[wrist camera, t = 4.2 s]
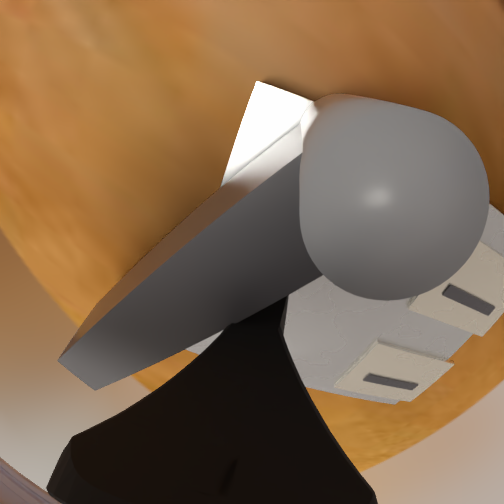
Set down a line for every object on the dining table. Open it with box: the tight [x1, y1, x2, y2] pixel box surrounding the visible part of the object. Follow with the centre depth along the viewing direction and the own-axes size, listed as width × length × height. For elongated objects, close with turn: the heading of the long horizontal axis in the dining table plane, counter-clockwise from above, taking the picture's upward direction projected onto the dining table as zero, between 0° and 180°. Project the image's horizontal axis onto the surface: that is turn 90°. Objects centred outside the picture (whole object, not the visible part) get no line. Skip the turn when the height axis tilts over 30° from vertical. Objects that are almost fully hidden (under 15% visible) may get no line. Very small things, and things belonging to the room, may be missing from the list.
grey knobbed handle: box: [58, 93, 489, 390], centre depth 7 cm, size 2×12×5 cm, turn 131°
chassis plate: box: [186, 81, 504, 404], centre depth 10 cm, size 12×11×1 cm
